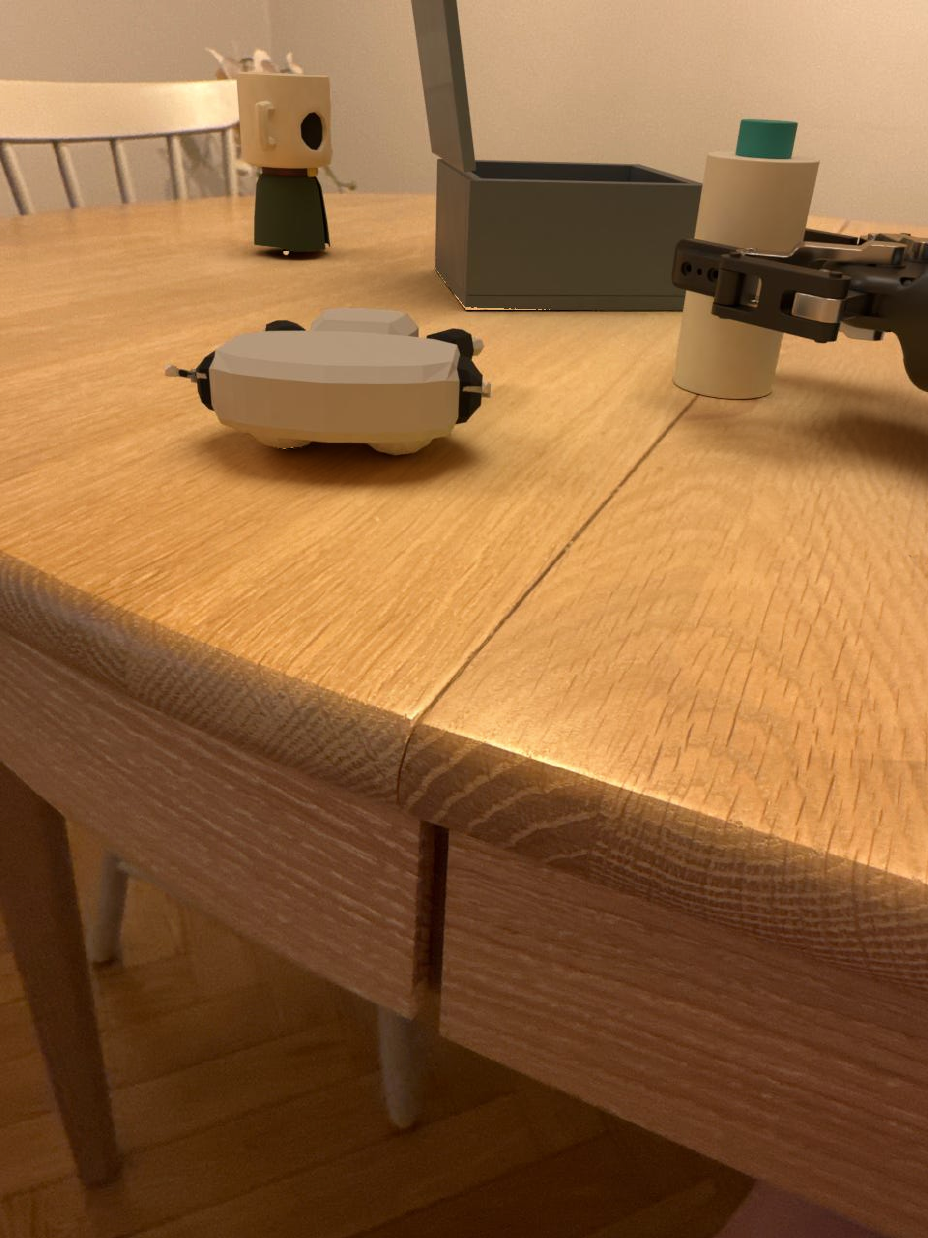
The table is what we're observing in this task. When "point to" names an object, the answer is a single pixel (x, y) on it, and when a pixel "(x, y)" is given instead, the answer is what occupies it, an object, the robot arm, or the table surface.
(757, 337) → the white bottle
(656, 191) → the dark grey open box
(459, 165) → the lid
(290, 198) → the beige and green figure
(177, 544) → the table surface
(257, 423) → the robot toy
